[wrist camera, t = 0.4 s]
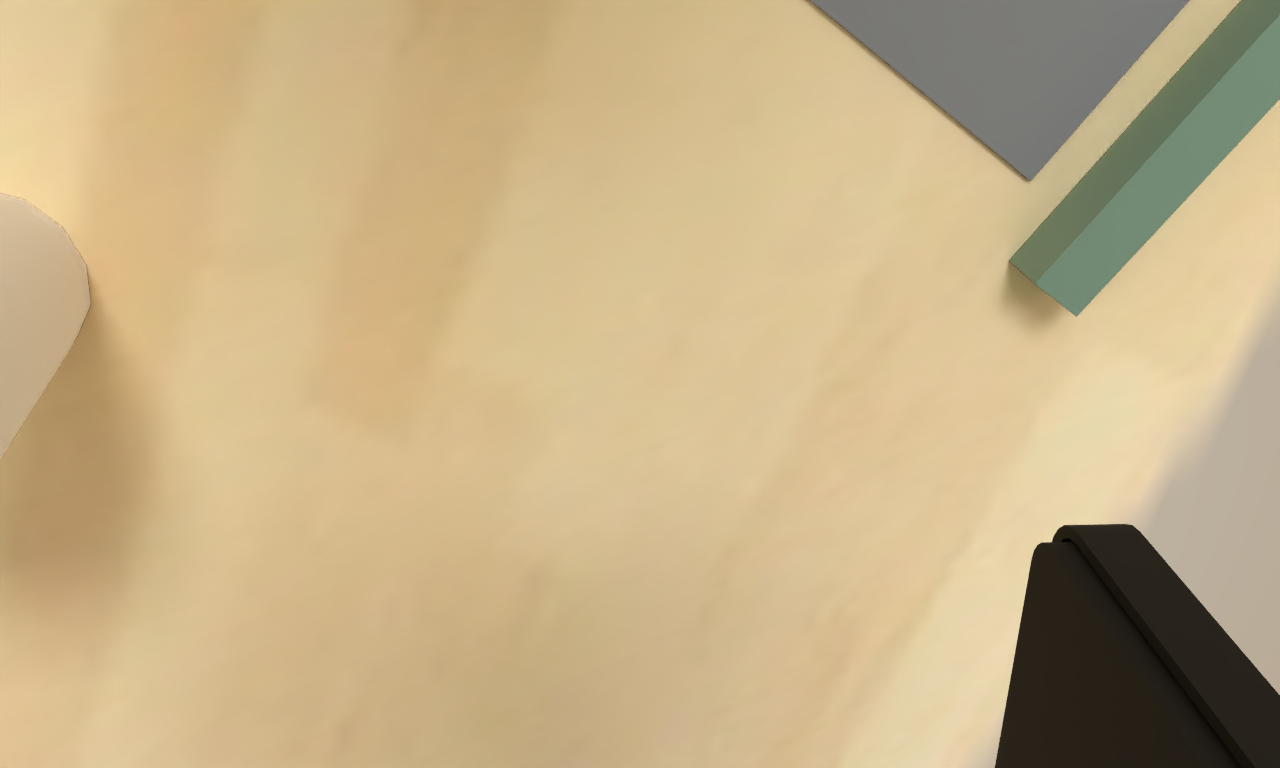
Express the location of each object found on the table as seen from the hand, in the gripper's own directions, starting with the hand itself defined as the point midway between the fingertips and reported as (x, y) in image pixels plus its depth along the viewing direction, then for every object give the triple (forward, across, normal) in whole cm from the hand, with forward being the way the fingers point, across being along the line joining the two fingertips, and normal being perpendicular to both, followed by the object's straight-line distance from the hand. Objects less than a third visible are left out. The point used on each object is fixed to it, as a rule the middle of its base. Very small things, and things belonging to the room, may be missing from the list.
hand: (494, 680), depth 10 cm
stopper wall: (+30, -22, 0) cm, 37 cm away
